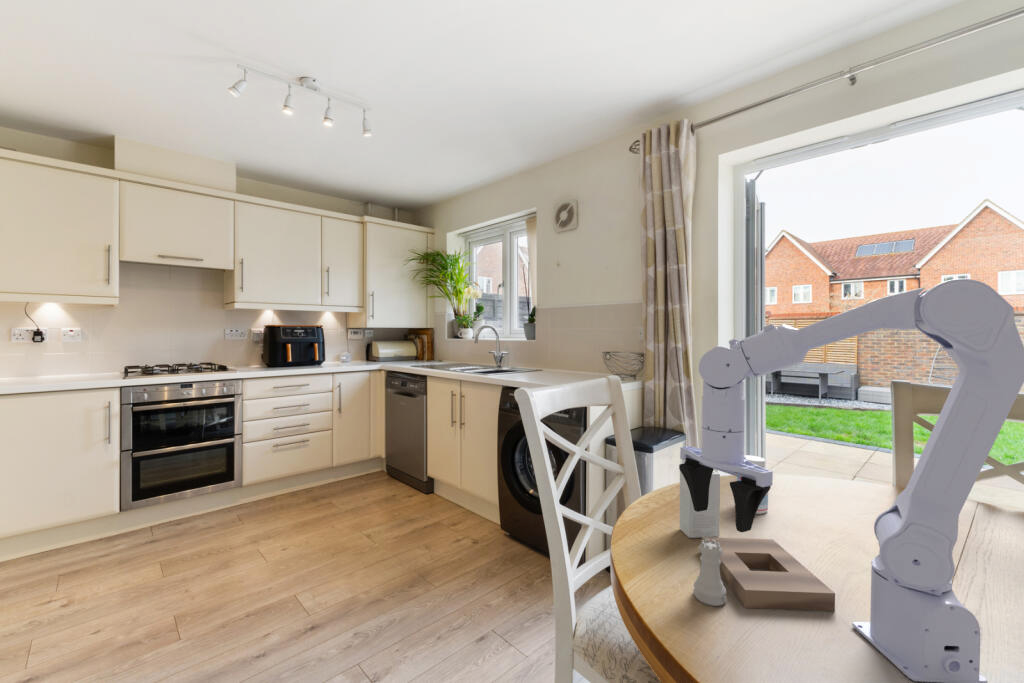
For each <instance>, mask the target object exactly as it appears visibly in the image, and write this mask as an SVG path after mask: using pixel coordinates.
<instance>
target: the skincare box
mask: <svg viewBox="0 0 1024 683" xmlns="http://www.w3.org/2000/svg"><path fill="white" fill-rule="evenodd" d="M720 487H721V474H720V473H719V472H717V471H716V470H713V473H712V476H711V481H710V486H709V501H708V508H707V510H704V511H699V512H697V511H694V507H693V503H692V498H691V495H690V491H689V488H688V485H687V483H686V480H685V478H684V476H683V474H682V473H681V471H680V470H679V529H680V531H682V533H683V534H684V535H685V536H686V537H687V538H690V539H698V538H699V539H700V538H701V539H702V537H715V538H720V523H721V522H720V517H721V516H720V512H721V510H720V507H721V506H720V503H721V500H720V499H721V497H720V496H721V495H720V494H721V488H720Z"/></svg>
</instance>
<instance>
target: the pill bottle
mask: <svg viewBox="0 0 1024 683" xmlns="http://www.w3.org/2000/svg"><path fill="white" fill-rule="evenodd" d="M744 456H745V457H746V460H747V461H749V462H751V463H754V464H756V465H758V466H760V467H762V468H764V469H765V467H766V458H764V457H760V456H757V455H750V454H748V455H747V454H746V455H745V454H744ZM739 480H740V481H741V478H739V477H737V476H736V481H739ZM768 509H769V491H768V492H767V494H766V495H765V497H764V498H763V500H762V501H761V503H760V505H759V507H758V509H757V512H756V514H755V515H762V514H765V513H767V512H768Z"/></svg>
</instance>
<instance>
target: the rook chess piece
mask: <svg viewBox="0 0 1024 683" xmlns="http://www.w3.org/2000/svg"><path fill="white" fill-rule="evenodd" d="M697 547H698V550H699V551H700V553H701V556H700V557H699V560H700V570H699V575H698V576H697V577H696V580H695V581H694V583H693V588H694V589H693V590H692V591H693V596H695V597H696V599H697V600H698V601H699V602H700V603H702V604H704V605H706V606H711V607H721V606H723V605H724V604H725V603H726V602H727V601H728V598H727V596H726V595H727V589H726V587H725V586H724V581H722V577H721V576H720V570H719V566H720V564H721V561H720V559H719V557H720V556H721V555H722V554H723V550H722V549H721V548H720V543H719V542H717V544H716V541H715V540H712V543H711V542H709V539H705V542H704V540H702V539H701V540H700V544H699V545H698V546H697Z"/></svg>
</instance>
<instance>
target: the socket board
mask: <svg viewBox="0 0 1024 683" xmlns="http://www.w3.org/2000/svg"><path fill="white" fill-rule="evenodd" d="M705 539H709V542H711V543H712V540H715V541H716V544H717V542H719V543H720V548H721V549H722V550H723V554H722V555H721V556H720V557H719V559H720V561H721V564H720V566H719V570H720V577H721V579H722V580H723V582H725V584H726V585H727V587H728V588H729V589H730V590H731V591H732V593H733V595H734V596H735V597H736V598H737V599H738V601H739V603H741V604H743V605H742V606H743V607H744V608H745V609H765V610H767V609H769V610H770V609H771V610H789V611H791V610H794V611H795V610H796V611H813V612H814V611H815V612H819V611H821V612H835V611H836V593H835V592H834V590H832V589H831V588H830V587H828V585H826V584H825V583H824V582H823V581H821V580H820V579H819V578H818V577H817V576H816V575H814V574H813V572H811V571H810V570H809V569H808V568H806V567H805V566H804V565H803V564H802V563H801V562H800V561H798V560H797V559H796V558H795V557H794V556H793V555H791V553H789V552H788V551H787V550H786V549H784V547H782V546H781V545H780V544H779V543H777V542H776V541H775V540H774V539H771V538H745V537H744V538H743V537H742V538H740V537H739V538H738V537H701V540H704V542H705ZM750 569H761V570H750ZM762 569H764V570H762ZM765 569H766V571H765ZM769 570H770V571H769Z"/></svg>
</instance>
